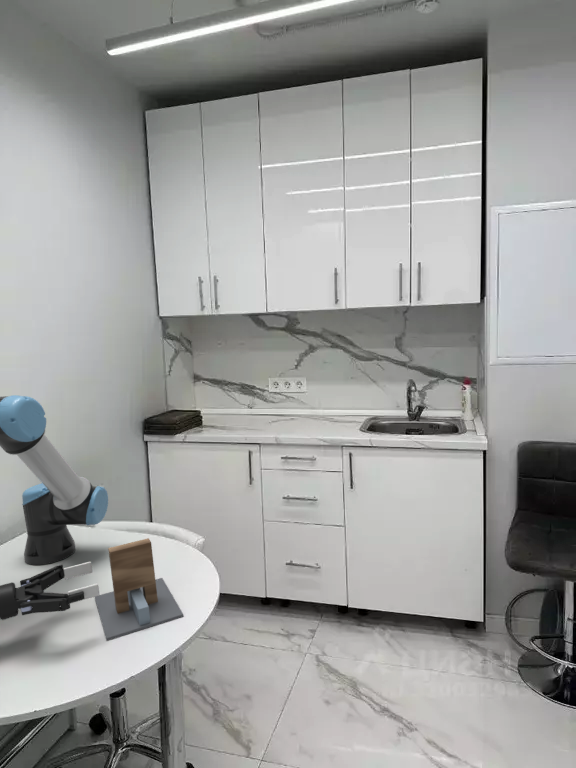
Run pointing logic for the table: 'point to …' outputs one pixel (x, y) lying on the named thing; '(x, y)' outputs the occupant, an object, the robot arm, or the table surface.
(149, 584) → the brown notched block
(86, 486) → the robot arm
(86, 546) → the table surface
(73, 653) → the table surface
